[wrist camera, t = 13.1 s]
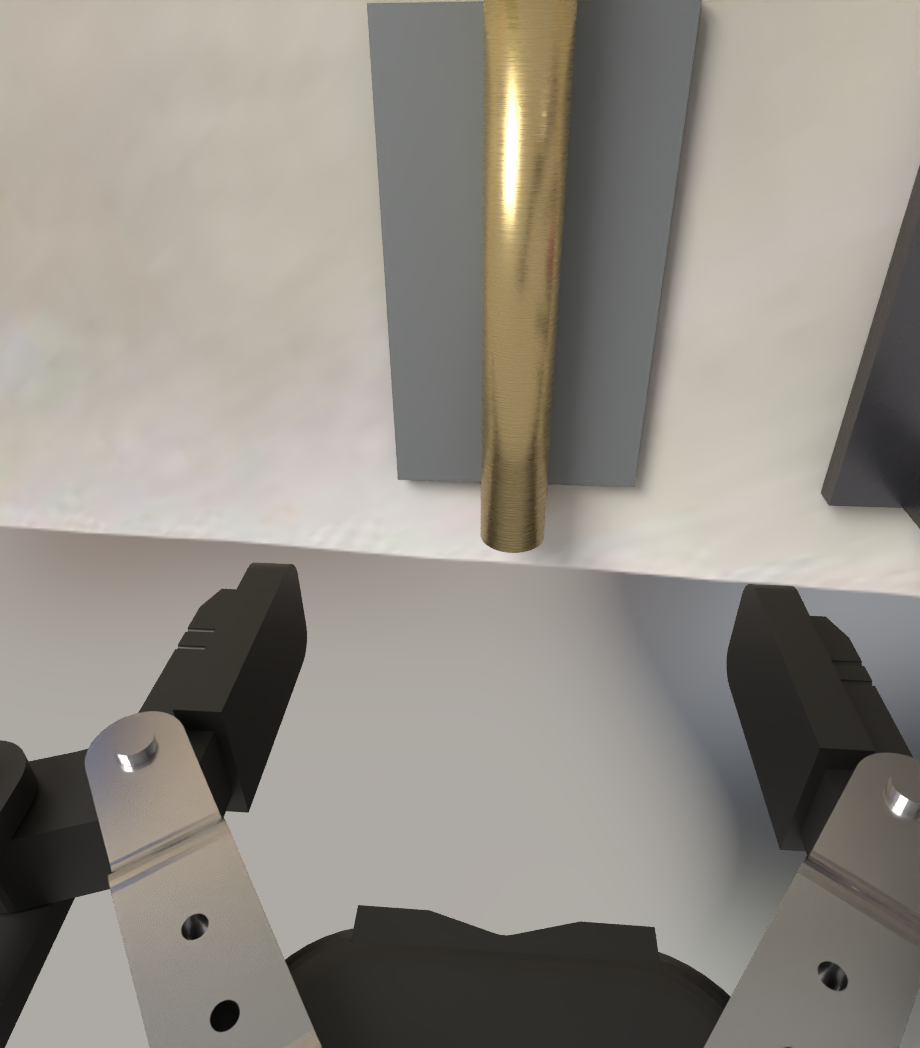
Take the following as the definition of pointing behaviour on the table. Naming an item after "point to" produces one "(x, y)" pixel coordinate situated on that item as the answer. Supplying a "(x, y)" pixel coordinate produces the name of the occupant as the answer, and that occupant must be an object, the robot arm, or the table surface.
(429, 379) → the mat
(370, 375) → the table surface
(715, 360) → the table surface
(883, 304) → the hook stand
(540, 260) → the rail
